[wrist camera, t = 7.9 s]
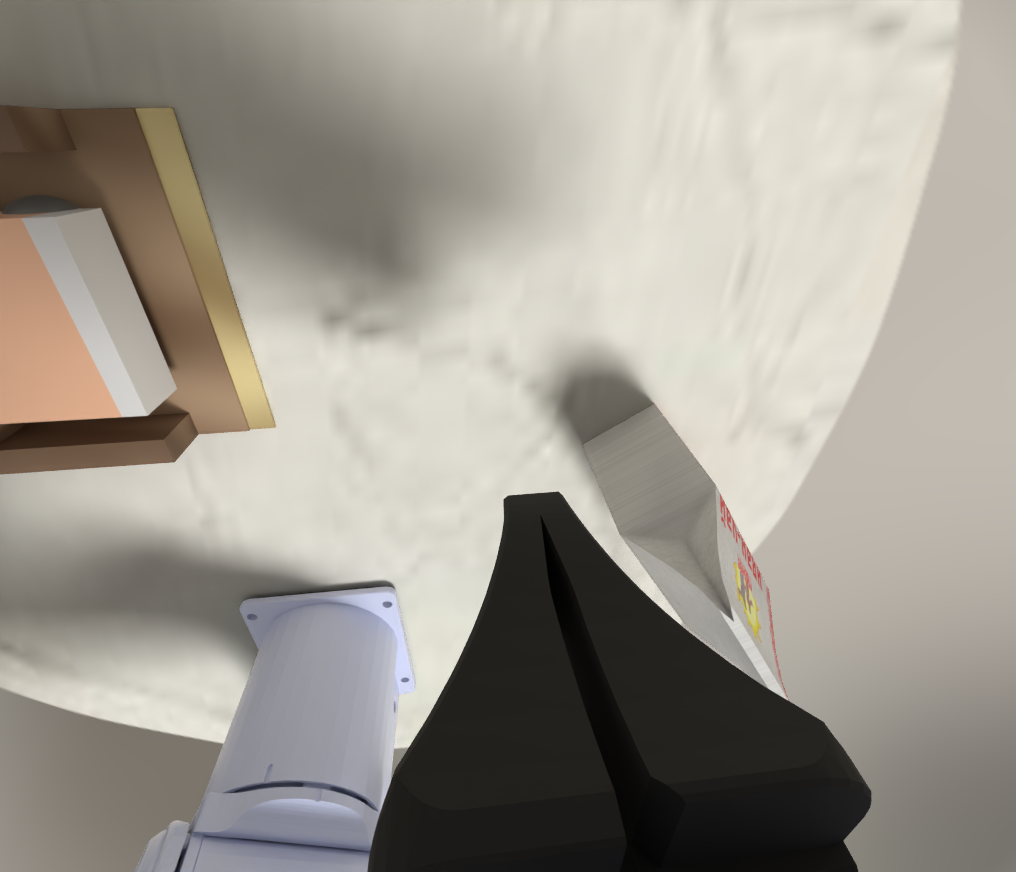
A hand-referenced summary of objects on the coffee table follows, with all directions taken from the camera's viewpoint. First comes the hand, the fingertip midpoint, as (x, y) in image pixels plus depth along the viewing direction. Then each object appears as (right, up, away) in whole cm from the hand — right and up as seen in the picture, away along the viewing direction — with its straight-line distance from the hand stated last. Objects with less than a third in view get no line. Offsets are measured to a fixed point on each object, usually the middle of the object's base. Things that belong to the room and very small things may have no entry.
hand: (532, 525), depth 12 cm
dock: (-16, +7, +5) cm, 18 cm away
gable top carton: (+6, 0, +12) cm, 13 cm away
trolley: (-16, +7, +5) cm, 18 cm away
